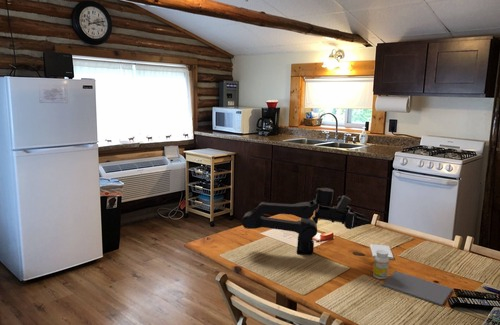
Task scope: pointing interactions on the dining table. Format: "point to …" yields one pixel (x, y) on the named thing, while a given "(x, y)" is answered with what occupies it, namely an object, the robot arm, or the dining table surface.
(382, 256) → the supplement bottle
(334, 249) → the dining table surface
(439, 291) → the mat
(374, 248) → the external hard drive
